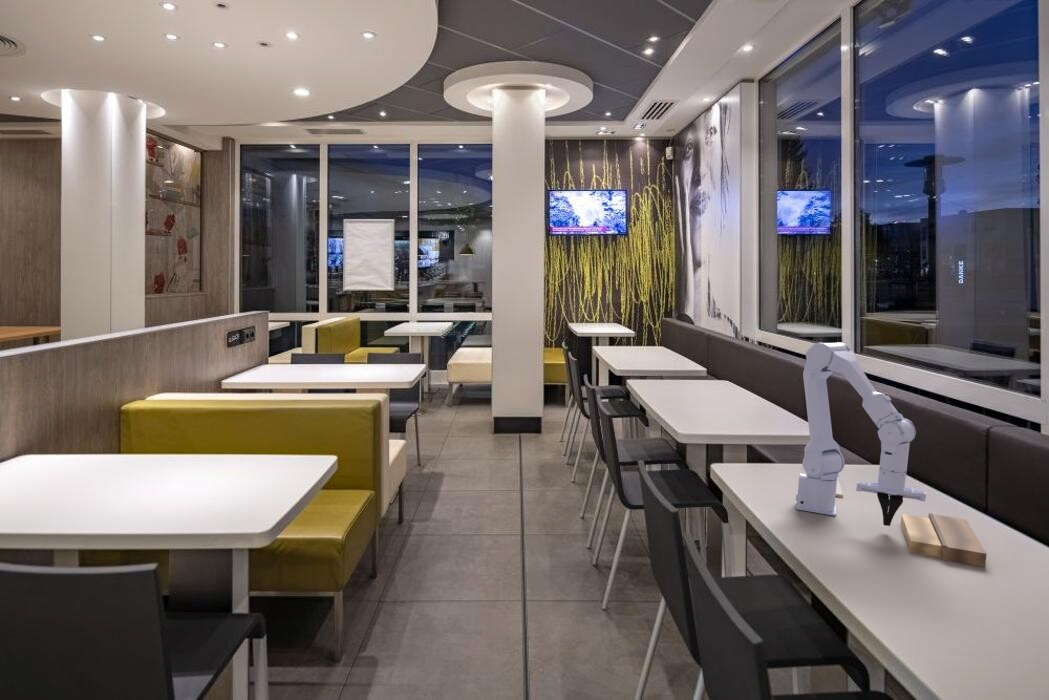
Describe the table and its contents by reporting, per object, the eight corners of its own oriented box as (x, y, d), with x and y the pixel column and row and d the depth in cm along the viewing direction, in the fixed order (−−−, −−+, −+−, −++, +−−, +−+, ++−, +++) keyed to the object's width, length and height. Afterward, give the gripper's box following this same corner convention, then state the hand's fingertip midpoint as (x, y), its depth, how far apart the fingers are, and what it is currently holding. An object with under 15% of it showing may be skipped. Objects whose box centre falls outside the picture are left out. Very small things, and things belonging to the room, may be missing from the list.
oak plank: (909, 553, 152) (910, 540, 151) (900, 525, 170) (901, 513, 169) (940, 559, 149) (941, 546, 149) (927, 529, 167) (929, 518, 167)
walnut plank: (941, 559, 148) (943, 545, 147) (927, 525, 170) (928, 512, 169) (984, 567, 145) (986, 553, 144) (964, 531, 166) (966, 518, 166)
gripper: (859, 468, 160) (853, 523, 162) (930, 478, 155) (923, 535, 156) (858, 461, 167) (852, 514, 168) (926, 471, 161) (919, 526, 162)
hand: (886, 524), depth 163 cm, fingers closed
